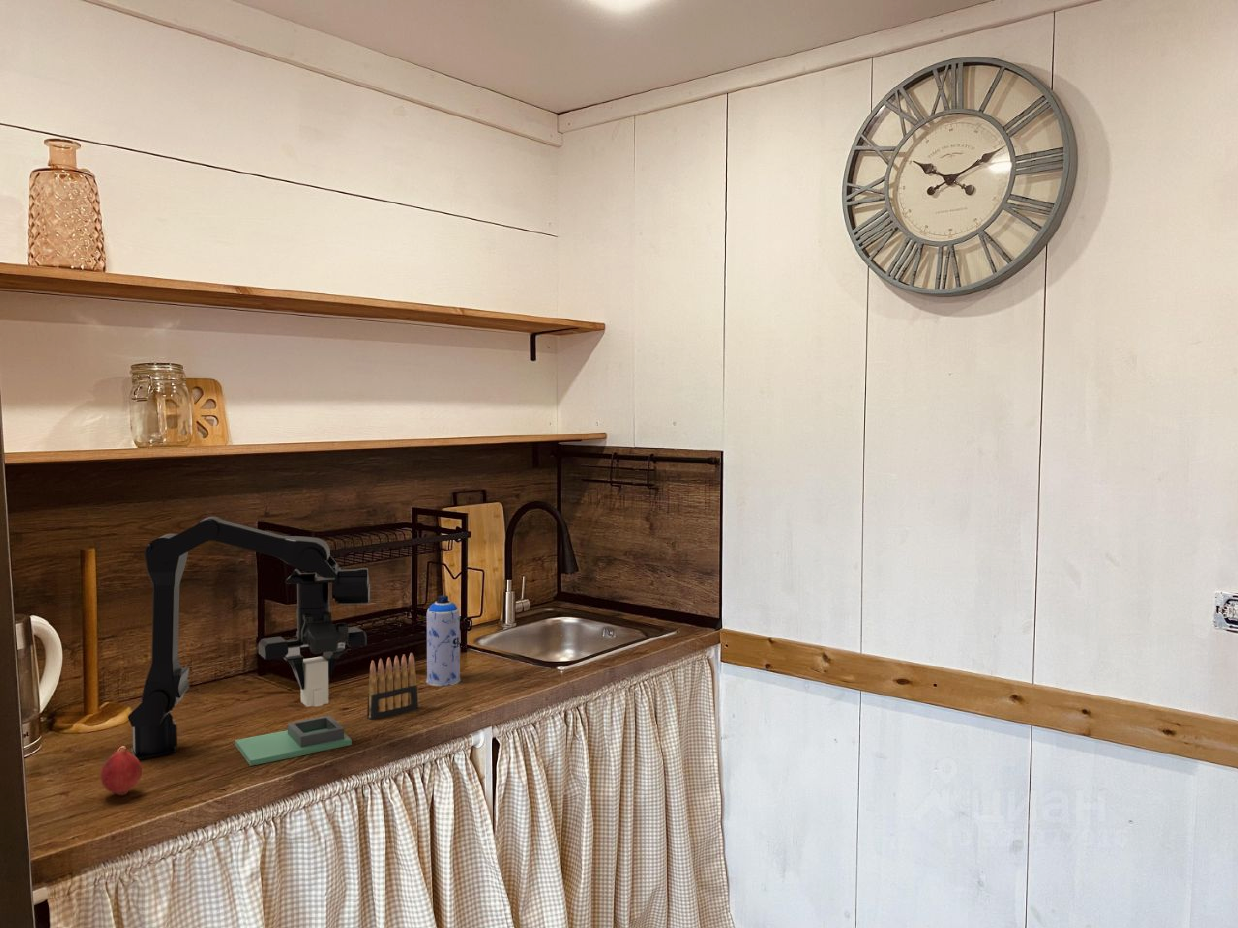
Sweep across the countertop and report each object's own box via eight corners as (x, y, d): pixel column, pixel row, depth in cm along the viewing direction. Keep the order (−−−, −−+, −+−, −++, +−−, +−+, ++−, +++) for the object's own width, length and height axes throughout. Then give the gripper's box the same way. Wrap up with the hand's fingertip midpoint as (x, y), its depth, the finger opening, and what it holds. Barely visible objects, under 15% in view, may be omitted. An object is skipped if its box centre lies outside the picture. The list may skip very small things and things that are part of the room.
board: (250, 765, 158) (250, 749, 157) (235, 745, 167) (234, 729, 167) (351, 744, 168) (351, 729, 168) (331, 726, 178) (331, 711, 178)
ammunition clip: (413, 706, 190) (413, 650, 190) (418, 708, 189) (417, 652, 188) (366, 717, 183) (366, 660, 182) (371, 720, 182) (370, 661, 181)
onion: (103, 805, 141) (102, 755, 141) (99, 793, 146) (98, 744, 145) (144, 796, 145) (143, 748, 144) (139, 784, 149) (138, 737, 149)
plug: (308, 707, 166) (307, 665, 166) (296, 697, 172) (296, 656, 172) (329, 704, 168) (329, 662, 168) (317, 694, 174) (317, 653, 174)
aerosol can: (454, 686, 204) (454, 600, 203) (421, 685, 205) (421, 599, 204) (464, 676, 212) (464, 593, 211) (432, 675, 213) (432, 592, 212)
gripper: (272, 619, 157) (273, 707, 157) (376, 607, 167) (377, 689, 168) (257, 608, 166) (258, 691, 166) (356, 597, 176) (357, 675, 177)
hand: (314, 687), depth 169 cm, fingers closed on plug, 4 cm apart
